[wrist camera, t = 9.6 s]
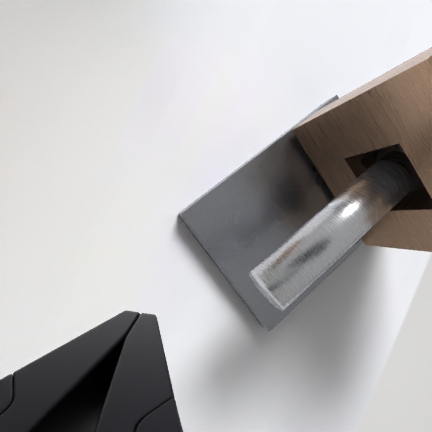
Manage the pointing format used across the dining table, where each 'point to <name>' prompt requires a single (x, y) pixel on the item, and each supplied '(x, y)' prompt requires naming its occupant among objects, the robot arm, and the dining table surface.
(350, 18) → the dining table surface
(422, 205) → the wooden block on rod
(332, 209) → the stand
